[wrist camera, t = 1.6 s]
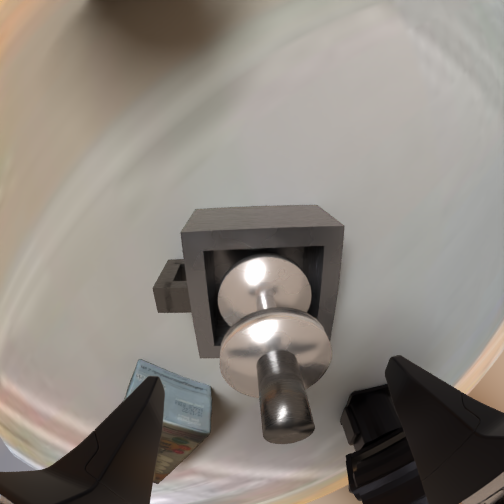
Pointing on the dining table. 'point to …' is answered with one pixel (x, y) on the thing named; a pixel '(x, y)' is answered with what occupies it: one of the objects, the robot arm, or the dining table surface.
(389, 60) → the dining table surface
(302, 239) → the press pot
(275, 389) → the plunger
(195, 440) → the beverage carton
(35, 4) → the dining table surface
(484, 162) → the dining table surface
